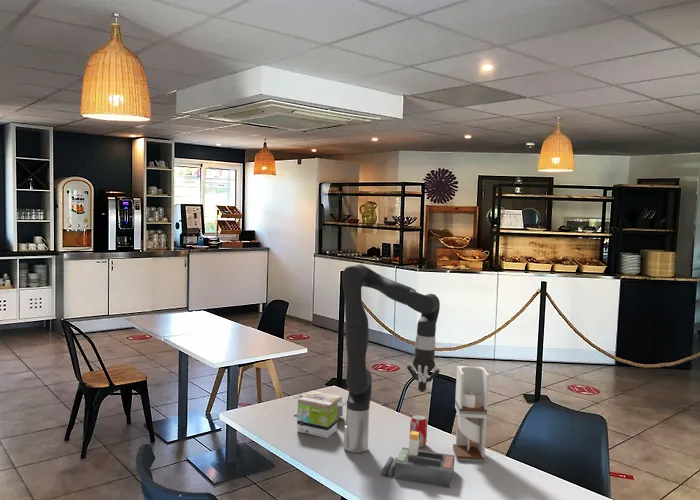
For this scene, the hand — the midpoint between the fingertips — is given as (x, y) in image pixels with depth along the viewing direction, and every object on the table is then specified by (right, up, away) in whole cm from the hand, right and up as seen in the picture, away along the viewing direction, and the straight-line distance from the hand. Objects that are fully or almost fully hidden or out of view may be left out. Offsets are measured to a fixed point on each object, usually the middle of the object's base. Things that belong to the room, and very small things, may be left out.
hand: (421, 391), depth 220 cm
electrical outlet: (-41, -24, +51) cm, 70 cm away
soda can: (+1, -28, +22) cm, 35 cm away
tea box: (-42, -26, +32) cm, 58 cm away
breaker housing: (0, -30, -5) cm, 30 cm away
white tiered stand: (+20, -29, +13) cm, 38 cm away
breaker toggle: (-4, -23, -5) cm, 24 cm away
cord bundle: (-12, -29, -2) cm, 31 cm away
